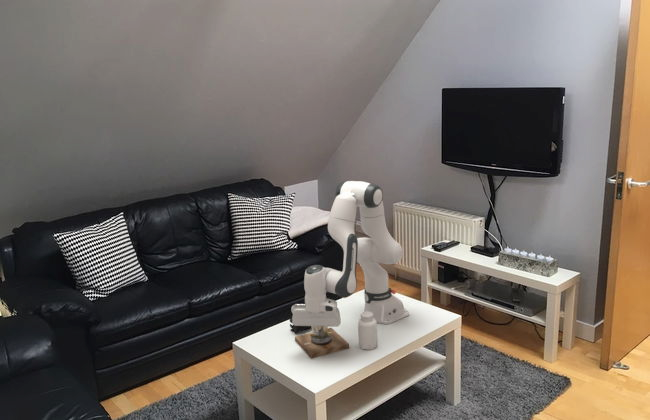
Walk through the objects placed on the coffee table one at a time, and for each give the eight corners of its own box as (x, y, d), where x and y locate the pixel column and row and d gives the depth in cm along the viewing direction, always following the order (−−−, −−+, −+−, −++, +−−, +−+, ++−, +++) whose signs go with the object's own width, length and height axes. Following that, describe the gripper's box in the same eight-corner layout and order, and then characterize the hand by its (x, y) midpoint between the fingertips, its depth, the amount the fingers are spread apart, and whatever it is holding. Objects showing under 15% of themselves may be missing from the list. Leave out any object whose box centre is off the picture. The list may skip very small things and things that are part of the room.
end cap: (297, 336, 256) (296, 322, 254) (289, 330, 262) (288, 317, 260) (315, 330, 261) (315, 316, 259) (307, 324, 267) (307, 311, 265)
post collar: (326, 333, 252) (326, 329, 252) (335, 342, 244) (335, 337, 244) (308, 338, 249) (307, 334, 248) (316, 347, 241) (316, 342, 240)
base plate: (331, 331, 259) (331, 327, 258) (349, 348, 243) (349, 343, 242) (295, 340, 251) (294, 336, 251) (311, 358, 235) (310, 353, 235)
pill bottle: (358, 350, 241) (357, 317, 237) (359, 341, 248) (358, 309, 245) (376, 350, 240) (375, 318, 236) (377, 341, 247) (376, 310, 244)
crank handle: (310, 332, 249) (309, 316, 247) (331, 331, 249) (331, 315, 247) (310, 350, 234) (309, 332, 232) (333, 348, 234) (333, 331, 232)
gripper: (289, 306, 232) (291, 337, 235) (339, 307, 230) (340, 338, 233) (292, 300, 238) (293, 330, 241) (340, 301, 236) (341, 332, 239)
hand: (316, 334), depth 237 cm, fingers closed
